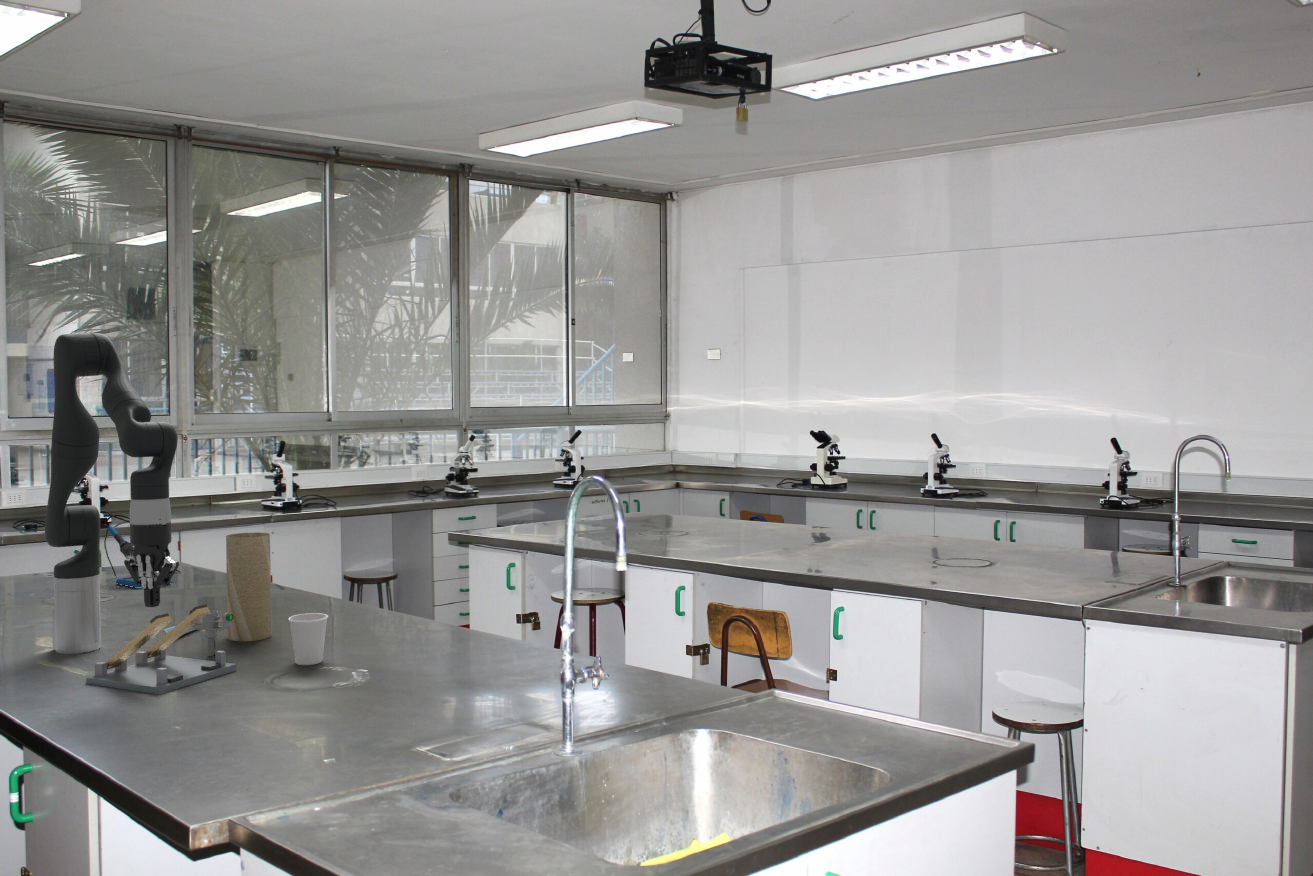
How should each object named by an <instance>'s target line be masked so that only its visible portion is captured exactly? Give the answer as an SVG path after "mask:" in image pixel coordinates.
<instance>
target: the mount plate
mask: <svg viewBox="0 0 1313 876" xmlns="http://www.w3.org/2000/svg"><path fill="white" fill-rule="evenodd" d="M166 650H167V648H166V649H164V650H163V651H162V652H161V653H160V654H159V655H158V656H155V657H153V658H151V659H149V660H148V659H147V652H146V651H143V650H142V651H141V650H139V651H135V663H134V664H131V665H128V664H127V663H128V662H127V661H128V660H127V659H128V658H127V659H126V660H125V661H124V662H122V663H121V664H120V665H119V666H118V667H115V668H114V669H112V670H109V671H108V670H107V663H105V662H106V661H105V662H102V661H98V662H95V663H94V675H90V676H88V677H85V680H86V681H85V684H89V685H95V686H102V687H107V688H108V687H109V688H114V689H121V690H122V689H123V690H126V691H127V690H129V691H134V692H142V693H146V694H148V693H149V694H153V693H154V694H155V695H162V694H167V693H169V691H170V692H172V691H171V690H173V691H176V690H178V689H177V688H179V689H182V688H185V687H184V686H186V687H188V686H187V685H189V686H192V685H195V684H198V683H201V681H202V682H204V681H207V680H210V679H211V680H212V679H215V678H217V676H218V677H220V675H221V676H223V675H227V674H230V673H233V672H237V663H233V662H232V663H231V662H227V661H226V651H225V650H217V651H215V655H214V657H215V660H207V659H199V658H190V657H180V656H174V655H173V656H172V655H167V654H166ZM191 684H192V685H191ZM181 687H182V688H181ZM175 689H176V690H175Z"/></svg>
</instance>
